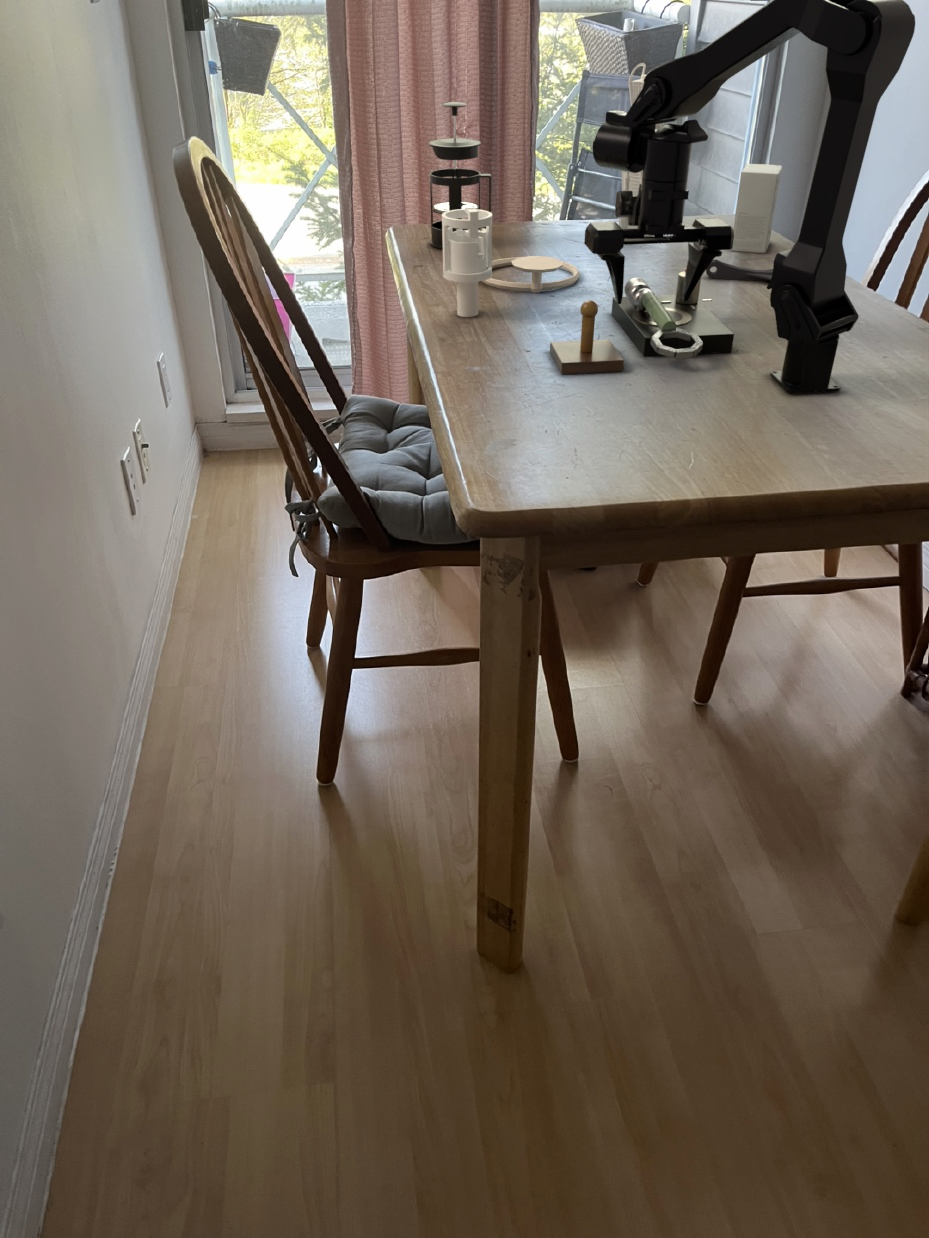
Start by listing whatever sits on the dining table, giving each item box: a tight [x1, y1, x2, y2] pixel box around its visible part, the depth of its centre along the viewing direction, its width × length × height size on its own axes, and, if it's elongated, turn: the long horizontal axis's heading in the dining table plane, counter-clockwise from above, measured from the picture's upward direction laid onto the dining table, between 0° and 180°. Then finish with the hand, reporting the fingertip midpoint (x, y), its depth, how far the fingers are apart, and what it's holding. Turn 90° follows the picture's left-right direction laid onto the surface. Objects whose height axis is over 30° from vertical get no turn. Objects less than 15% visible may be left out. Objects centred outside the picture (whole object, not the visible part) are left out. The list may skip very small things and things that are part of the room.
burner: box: [633, 308, 692, 326], centre depth 130 cm, size 8×8×1 cm
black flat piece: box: [705, 259, 773, 282], centre depth 153 cm, size 14×15×3 cm
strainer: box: [441, 207, 493, 318], centre depth 136 cm, size 7×7×15 cm
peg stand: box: [549, 299, 625, 375], centre depth 121 cm, size 8×8×8 cm
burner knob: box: [675, 268, 702, 305], centre depth 135 cm, size 3×3×4 cm
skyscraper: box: [618, 62, 664, 237], centre depth 169 cm, size 8×8×28 cm
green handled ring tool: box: [623, 277, 703, 360], centre depth 127 cm, size 21×6×4 cm, turn 11°
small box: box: [729, 163, 783, 254], centre depth 167 cm, size 8×6×13 cm
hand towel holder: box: [481, 255, 581, 294], centre depth 153 cm, size 17×4×20 cm
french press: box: [428, 101, 492, 251], centre depth 167 cm, size 12×9×23 cm
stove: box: [611, 294, 735, 357], centre depth 132 cm, size 18×14×3 cm
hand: (651, 302), depth 129 cm, fingers open, 9 cm apart
